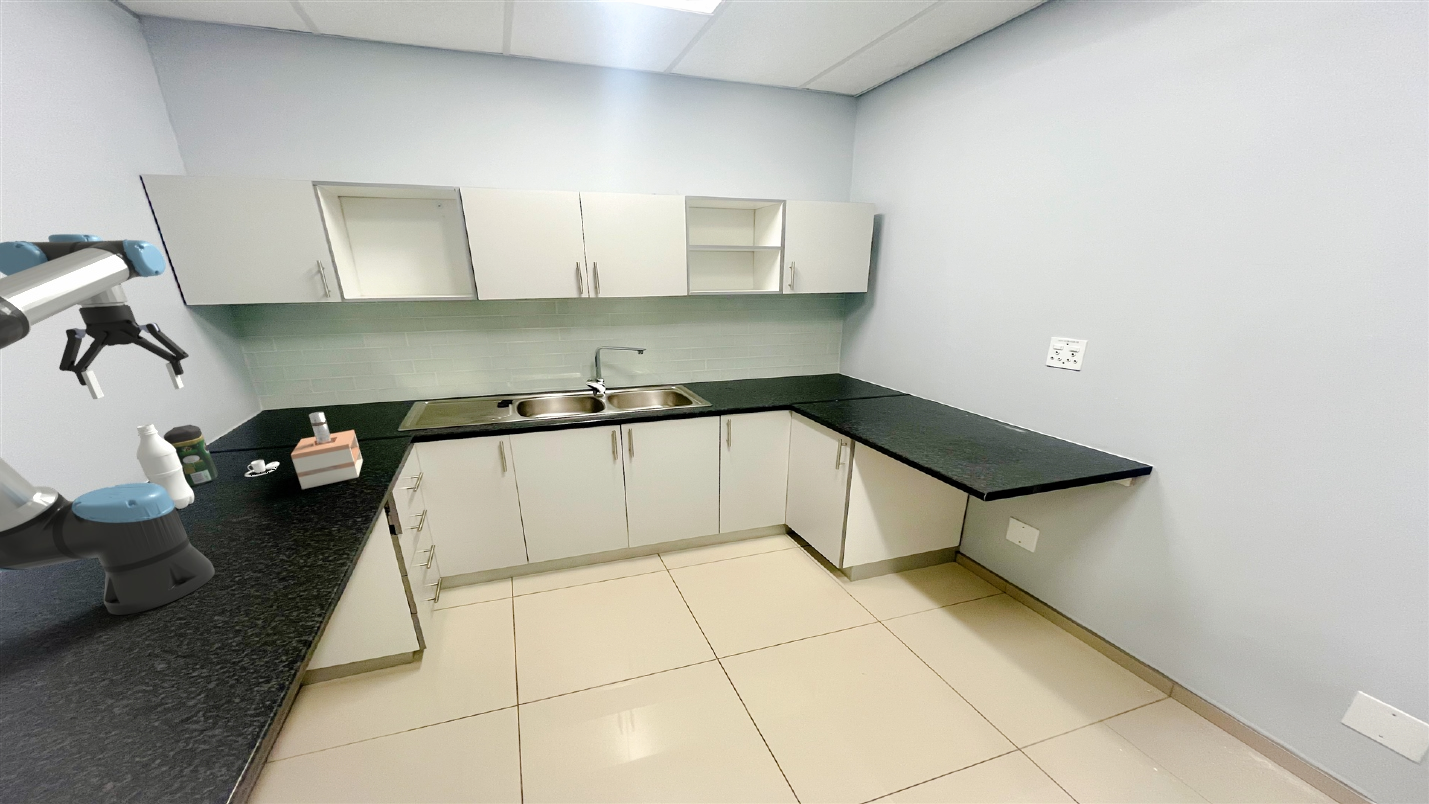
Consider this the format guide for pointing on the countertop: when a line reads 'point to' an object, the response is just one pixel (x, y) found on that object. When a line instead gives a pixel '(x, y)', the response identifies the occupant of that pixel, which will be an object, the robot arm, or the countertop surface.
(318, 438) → the metal tube
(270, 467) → the teacup and saucer
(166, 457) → the water bottle
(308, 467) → the tissue box
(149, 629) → the countertop surface
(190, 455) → the coffee jar
